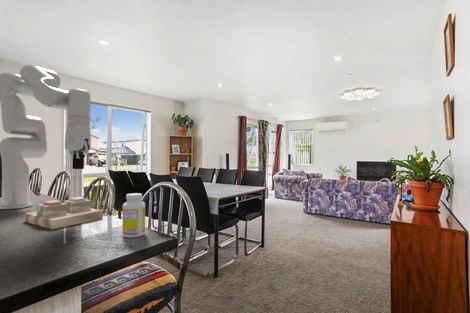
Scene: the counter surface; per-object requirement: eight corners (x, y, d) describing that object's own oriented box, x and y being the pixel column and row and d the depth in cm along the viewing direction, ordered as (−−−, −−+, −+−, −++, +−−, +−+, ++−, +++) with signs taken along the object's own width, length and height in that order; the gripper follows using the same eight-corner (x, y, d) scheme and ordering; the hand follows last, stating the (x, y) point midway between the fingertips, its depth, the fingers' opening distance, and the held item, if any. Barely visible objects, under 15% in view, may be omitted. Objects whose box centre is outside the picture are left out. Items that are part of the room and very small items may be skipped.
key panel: (25, 221, 95) (25, 203, 95) (75, 212, 110) (75, 196, 110) (52, 229, 86) (52, 209, 86) (102, 218, 102) (102, 201, 102)
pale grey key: (69, 206, 101) (69, 198, 101) (79, 204, 105) (79, 196, 105) (75, 207, 99) (75, 199, 99) (85, 205, 103) (85, 197, 103)
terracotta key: (43, 210, 93) (43, 201, 93) (55, 208, 97) (55, 200, 97) (49, 211, 92) (49, 202, 92) (61, 209, 95) (61, 201, 95)
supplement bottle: (137, 230, 87) (138, 192, 87) (149, 234, 82) (149, 194, 82) (118, 235, 81) (118, 194, 81) (129, 240, 77) (129, 196, 77)
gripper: (57, 121, 102) (57, 168, 102) (81, 119, 95) (80, 170, 95) (77, 123, 109) (76, 167, 109) (100, 122, 102) (99, 169, 102)
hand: (78, 168), depth 102 cm, fingers closed
